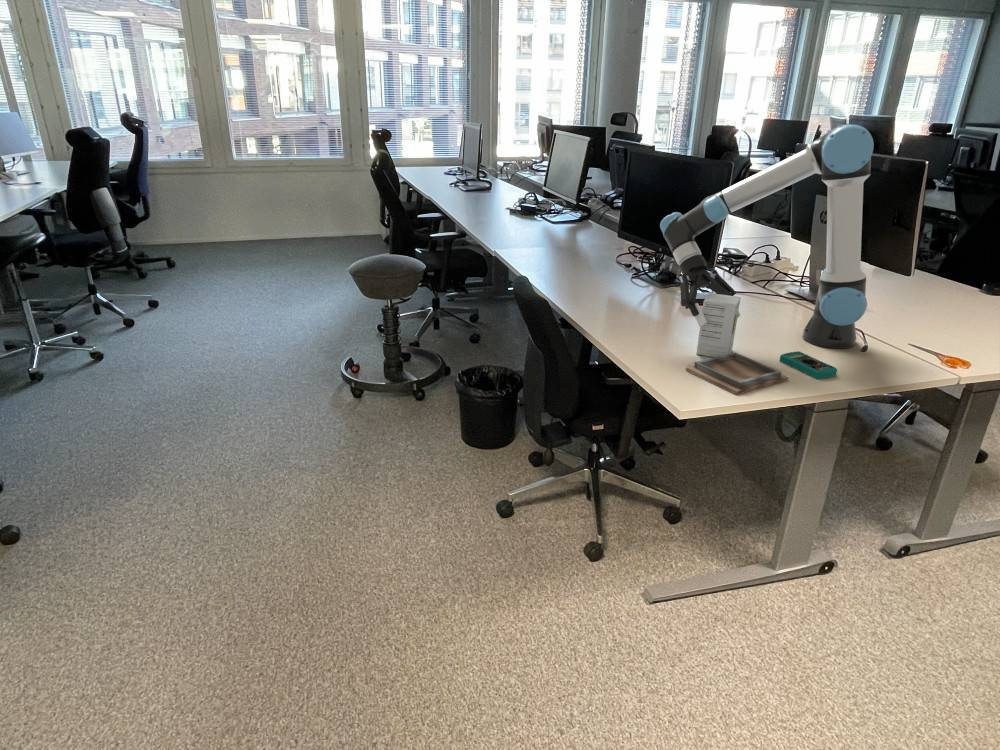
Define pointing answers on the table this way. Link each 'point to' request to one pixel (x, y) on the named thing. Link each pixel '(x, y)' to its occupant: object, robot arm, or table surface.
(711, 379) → the carrier plate
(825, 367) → the digital multimeter
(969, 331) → the table surface
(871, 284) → the table surface
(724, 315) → the supplement box
